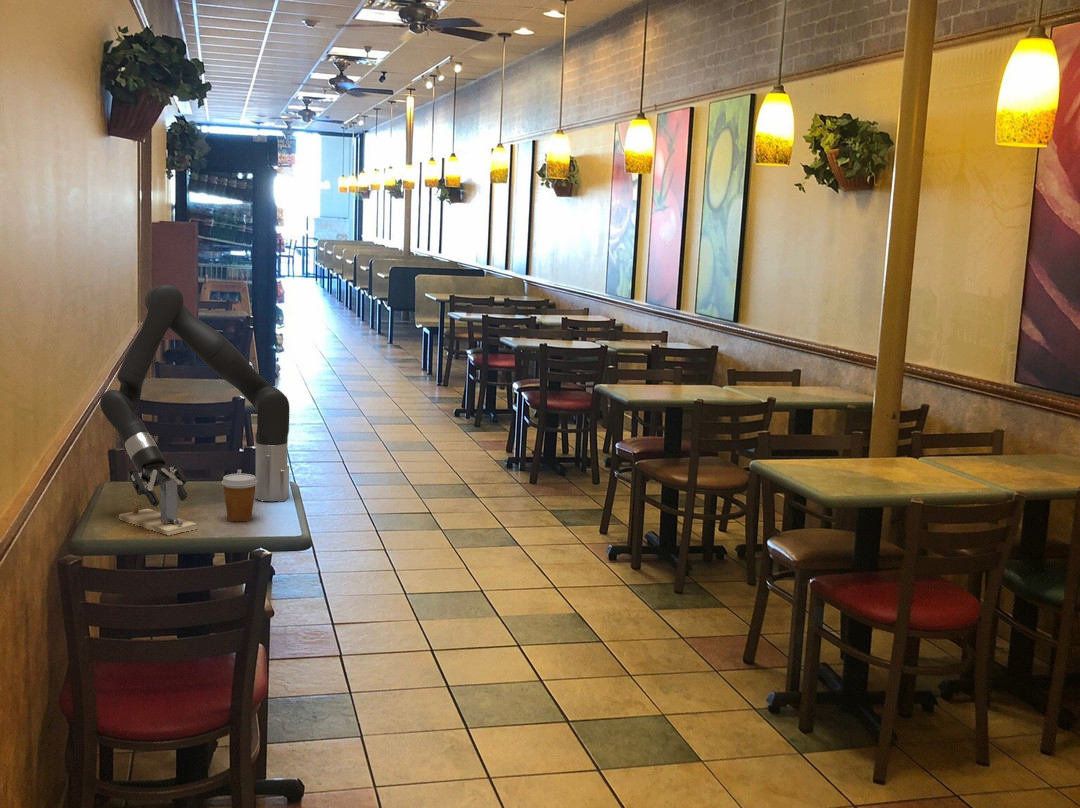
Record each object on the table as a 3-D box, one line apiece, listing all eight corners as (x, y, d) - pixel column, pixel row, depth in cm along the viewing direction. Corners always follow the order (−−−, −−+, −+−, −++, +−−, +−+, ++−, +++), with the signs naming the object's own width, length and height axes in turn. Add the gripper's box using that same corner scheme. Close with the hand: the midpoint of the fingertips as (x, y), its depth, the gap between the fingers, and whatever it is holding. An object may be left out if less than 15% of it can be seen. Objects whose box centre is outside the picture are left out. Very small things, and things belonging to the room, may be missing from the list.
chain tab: (186, 524, 282) (186, 484, 281) (175, 526, 280) (175, 486, 278) (166, 517, 287) (165, 478, 286) (154, 520, 285) (154, 480, 283)
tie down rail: (197, 529, 284) (197, 514, 284) (168, 536, 277) (168, 521, 276) (147, 513, 297) (147, 499, 296) (118, 520, 290) (118, 505, 289)
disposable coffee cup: (255, 523, 292) (255, 481, 290) (219, 523, 290) (219, 481, 289) (258, 514, 301) (258, 473, 299) (223, 514, 300) (223, 472, 298)
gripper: (126, 448, 279) (153, 499, 275) (173, 441, 291) (199, 489, 286) (115, 465, 283) (141, 514, 279) (161, 457, 295) (187, 505, 290)
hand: (170, 502), depth 282 cm, fingers open, 8 cm apart
